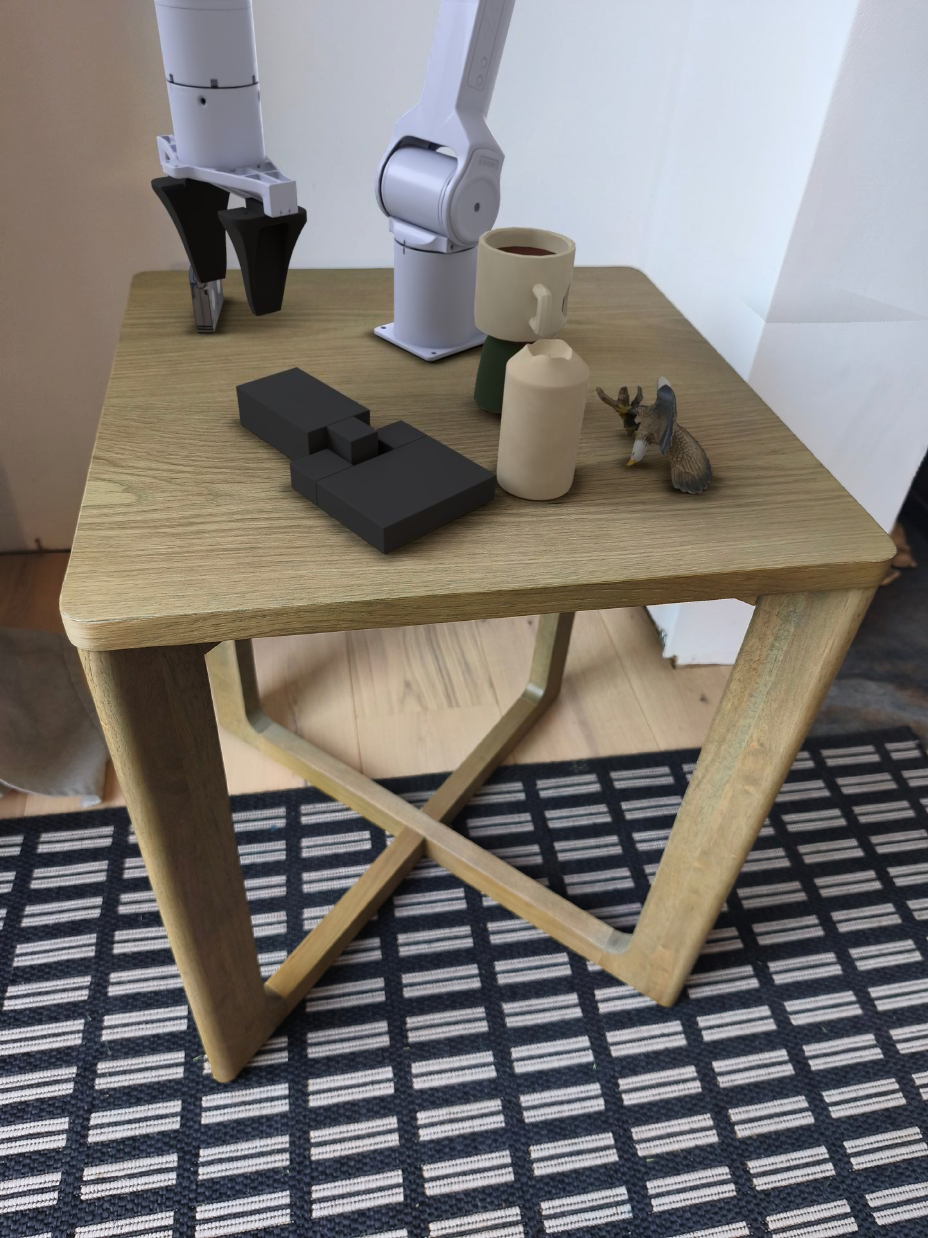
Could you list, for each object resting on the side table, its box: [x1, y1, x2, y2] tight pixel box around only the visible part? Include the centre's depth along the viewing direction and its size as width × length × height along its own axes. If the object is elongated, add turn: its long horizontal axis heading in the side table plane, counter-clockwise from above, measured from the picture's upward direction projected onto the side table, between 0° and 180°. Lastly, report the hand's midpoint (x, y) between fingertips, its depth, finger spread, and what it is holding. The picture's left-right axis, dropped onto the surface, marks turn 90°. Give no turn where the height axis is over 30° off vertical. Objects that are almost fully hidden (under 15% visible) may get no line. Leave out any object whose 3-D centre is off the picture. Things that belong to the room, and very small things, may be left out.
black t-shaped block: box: [235, 366, 378, 466], centre depth 63 cm, size 6×12×3 cm, turn 44°
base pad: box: [289, 419, 498, 555], centre depth 59 cm, size 10×10×2 cm
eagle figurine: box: [595, 375, 713, 495], centre depth 63 cm, size 8×7×9 cm
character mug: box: [472, 226, 577, 414], centre depth 66 cm, size 11×7×13 cm, turn 14°
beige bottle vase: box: [496, 338, 591, 501], centre depth 58 cm, size 6×6×10 cm
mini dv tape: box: [188, 264, 225, 333], centre depth 79 cm, size 8×2×6 cm, turn 6°
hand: (238, 295), depth 63 cm, fingers open, 7 cm apart
